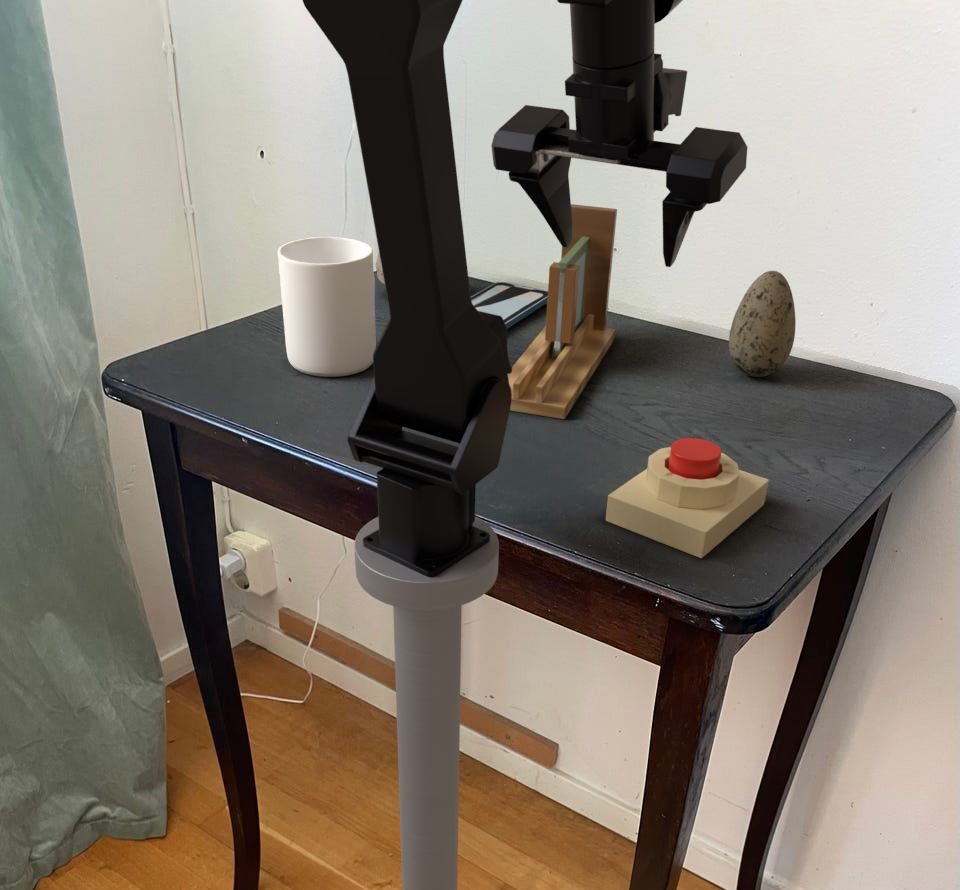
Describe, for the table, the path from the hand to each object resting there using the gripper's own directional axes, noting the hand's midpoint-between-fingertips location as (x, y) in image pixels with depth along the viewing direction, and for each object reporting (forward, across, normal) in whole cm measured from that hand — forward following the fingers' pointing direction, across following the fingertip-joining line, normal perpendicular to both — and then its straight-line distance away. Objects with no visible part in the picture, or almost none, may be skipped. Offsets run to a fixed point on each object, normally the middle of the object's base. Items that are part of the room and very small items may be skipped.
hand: (617, 254), depth 83 cm
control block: (+10, -13, +16) cm, 23 cm away
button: (+6, -13, +15) cm, 21 cm away
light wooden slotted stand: (+15, +8, -3) cm, 17 cm away
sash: (+15, +9, -6) cm, 18 cm away
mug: (+13, +27, +6) cm, 31 cm away
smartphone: (+18, +21, -11) cm, 29 cm away
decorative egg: (+18, -9, -12) cm, 23 cm away
